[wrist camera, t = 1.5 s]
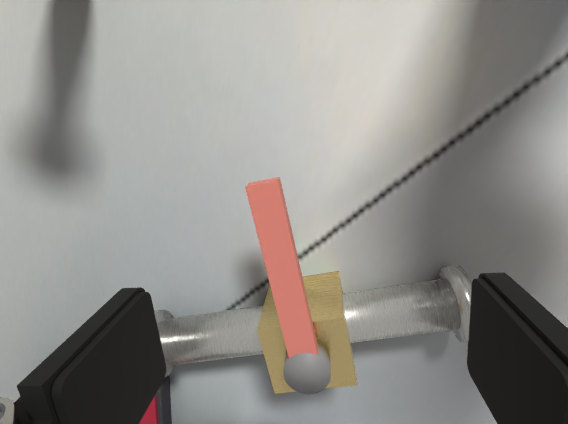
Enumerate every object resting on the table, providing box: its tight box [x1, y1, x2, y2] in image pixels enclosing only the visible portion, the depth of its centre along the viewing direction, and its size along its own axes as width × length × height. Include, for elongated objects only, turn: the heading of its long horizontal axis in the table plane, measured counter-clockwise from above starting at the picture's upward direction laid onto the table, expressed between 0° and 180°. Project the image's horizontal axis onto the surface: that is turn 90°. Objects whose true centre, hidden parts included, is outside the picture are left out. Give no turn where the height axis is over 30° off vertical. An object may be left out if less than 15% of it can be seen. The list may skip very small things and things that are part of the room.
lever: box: [245, 177, 331, 394], centre depth 26 cm, size 17×4×2 cm, turn 12°
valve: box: [154, 265, 472, 394], centre depth 32 cm, size 30×6×8 cm, turn 102°
